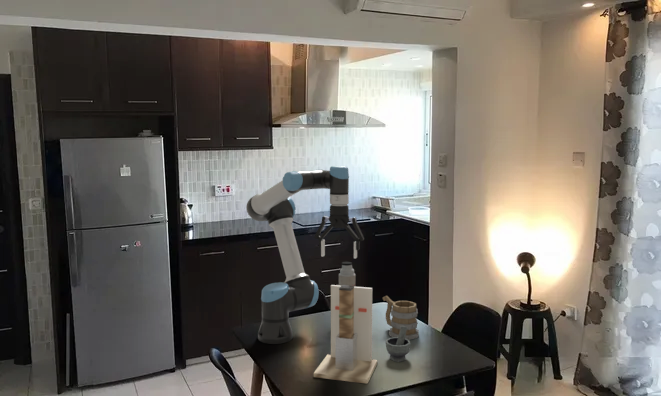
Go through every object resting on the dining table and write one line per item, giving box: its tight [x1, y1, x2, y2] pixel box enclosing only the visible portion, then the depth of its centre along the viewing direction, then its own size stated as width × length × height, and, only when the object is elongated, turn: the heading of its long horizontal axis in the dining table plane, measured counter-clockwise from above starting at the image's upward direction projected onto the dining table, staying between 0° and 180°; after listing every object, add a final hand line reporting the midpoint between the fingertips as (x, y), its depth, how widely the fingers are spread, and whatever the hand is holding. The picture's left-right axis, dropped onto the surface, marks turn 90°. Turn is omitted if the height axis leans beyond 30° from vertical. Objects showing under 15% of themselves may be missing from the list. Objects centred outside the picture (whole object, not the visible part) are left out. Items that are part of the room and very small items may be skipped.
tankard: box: [382, 295, 420, 341], centre depth 244 cm, size 20×13×15 cm, turn 34°
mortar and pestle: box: [385, 326, 411, 363], centre depth 215 cm, size 11×9×12 cm
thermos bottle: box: [338, 261, 356, 287], centre depth 260 cm, size 8×8×28 cm
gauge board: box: [330, 284, 373, 361], centre depth 209 cm, size 16×2×28 cm, turn 74°
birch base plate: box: [313, 353, 378, 384], centre depth 204 cm, size 20×18×2 cm
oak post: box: [339, 285, 354, 338], centre depth 202 cm, size 5×5×24 cm
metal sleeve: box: [336, 333, 357, 371], centre depth 203 cm, size 7×7×12 cm
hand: (339, 257), depth 220 cm, fingers open, 13 cm apart
